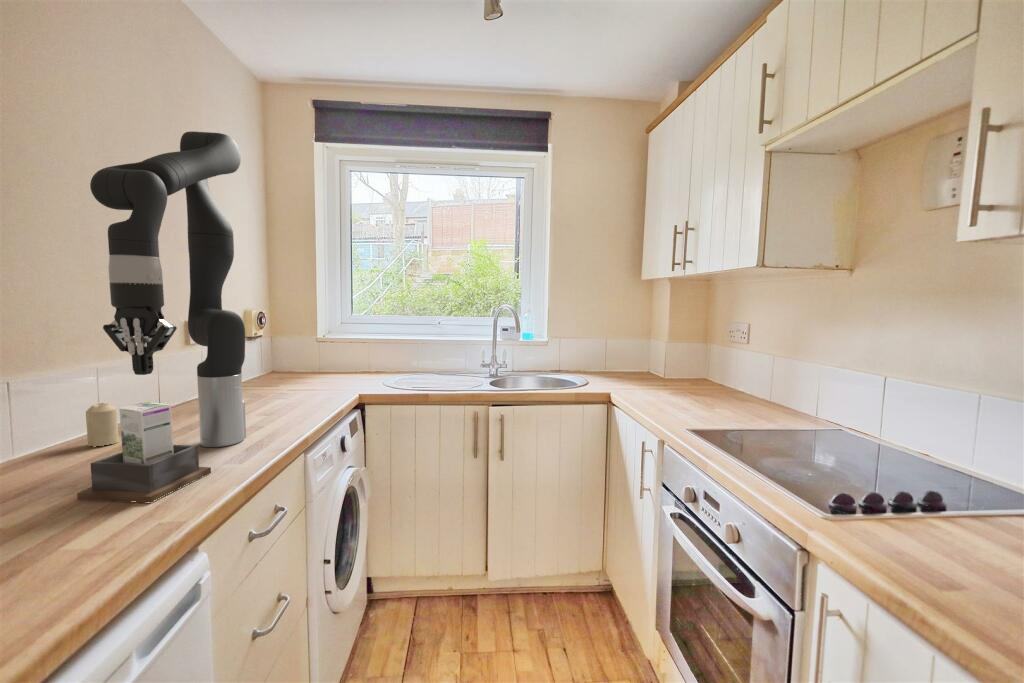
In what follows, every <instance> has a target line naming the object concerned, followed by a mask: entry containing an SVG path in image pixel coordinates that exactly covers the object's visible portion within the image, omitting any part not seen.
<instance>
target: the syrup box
mask: <svg viewBox="0 0 1024 683" xmlns="http://www.w3.org/2000/svg"><path fill="white" fill-rule="evenodd" d="M118 411H119V421H120V422H119V424H120V425H119V426H120V435H121V448H122V450H121V451H122V452H123V463H135V464H150V463H153V462H155V461H158V460H160V459H162V458H165V457H167V456H170V455H172V454H174V451H173V445H174V438H173V437H174V436H173V423H172V422H173V421H172V406H171V404H168V403H160V402H150V401H149V402H142V403H135V404H131V405H126V406H123V407H119V410H118Z"/></svg>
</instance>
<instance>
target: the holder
mask: <svg viewBox="0 0 1024 683" xmlns="http://www.w3.org/2000/svg"><path fill="white" fill-rule="evenodd" d="M173 451H174V454H172V455H170V456H167V457H165V458H162V459H160V460H158V461H155V462H153V463H150V464H135V463H123V452H117V453H116V454H113V455H109V456H107V457H104V458H101V459H98V460H96V461H93V462H90V478H91V487H88V488H85V489H83V490H81V491H78V492H77V493H76V498H77V499H76V500H81V501H99V502H101V501H102V502H116V501H126V502H125V503H132V502H131V501H136V502H153V501H154V500H156V499H158V498H160V497H162V496H164V495H166V494H168V493H170V492H172V491H174V490H176V489H178V488H180V487H182V486H184V485H186V484H188V483H190V482H192V481H194V480H196V479H198V478H200V477H202V476H204V477H206V476H207V474H208V475H210V474H211V473H212V470H211V468H212V467H210V466H200V463H199V462H200V461H199V445H191V444H190V445H189V444H188V445H187V444H173ZM209 473H210V474H209ZM205 475H206V476H205ZM202 478H203V477H202ZM200 479H201V478H200ZM198 480H199V479H198ZM196 481H197V480H196ZM194 482H195V481H194ZM192 483H193V482H192ZM190 484H191V483H190ZM188 485H189V484H188ZM186 486H187V485H186ZM184 487H185V486H184ZM182 488H183V487H182ZM180 489H181V488H180ZM178 490H179V489H178ZM176 491H177V490H176ZM174 492H175V491H174ZM172 493H173V492H172ZM153 503H154V502H153Z"/></svg>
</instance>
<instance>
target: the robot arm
mask: <svg viewBox="0 0 1024 683" xmlns="http://www.w3.org/2000/svg"><path fill="white" fill-rule="evenodd" d="M240 166H241V152H240V149H239V146H238V144H237V142H236V140H234V138H232V137H231V136H230V135H227V134H226V133H220V132H207V131H186V132H184V133H183V134H182V136H181V138H180V142H179V150H178V151H171V152H165V153H161V154H158V155H155V156H152V157H149V158H146V159H144V160H141V161H138V162H131V163H124V164H117V165H112V166H107V167H103V168H102V169H99V170H98V171H97V172H95V173H94V175H93V176H92V178H91V179H90V182H89V184H90V185H89V186H90V187H89V188H90V191H91V194H92V195H93V197H94V198H95V200H96V201H97V202H98V203H99V204H101V205H102V206H104V207H106V208H108V209H113V210H118V211H131V214H130V216H129V217H128V219H125V220H123V221H118V222H114V223H112V224H110V225H109V226H108V227H107V240H108V241H107V242H108V245H107V246H108V254H109V256H108V258H109V259H108V279H109V280H108V281H109V291H110V292H109V294H110V305H111V306H112V307H113V308H115V313H114V316H113V317H114V318H113V319H114V320H113V321H112V322H110V323H109V324H104V325H102V326H103V327H102V329H103V331H104V332H105V333H106V335H107V336H108V337H109V338H110V339H111V341H112V342H113V343H114V344H115V346H116V347H117V349H119V351H120V352H126V353H128V354H129V355H130V356H131V363H132V366H131V367H132V370H133V372H134V375H137V376H145V375H146V376H147V375H150V374H152V373H153V371H154V357H153V356H154V354H155V353H157V352H159V351H163V350H164V348H165V347H166V345H167V344H168V343H169V341H170V339H171V338H172V337H173V335H174V334H175V332H176V331H177V329H178V328H177V326H176V324H170V323H168V322H167V321H166V320H165V316H164V314H163V312H162V308H163V307H164V305H165V298H164V295H165V294H164V282H163V270H162V265H161V264H162V263H161V261H160V248H159V247H160V246H159V235H160V234H159V233H160V230H161V227H162V222H163V218H164V214H165V211H166V209H167V208H166V207H167V203H168V197H169V196H172V195H174V194H175V193H178V192H179V191H181V190H183V189H185V199H186V213H187V249H188V257H189V258H188V259H189V261H188V262H189V288H190V289H189V304H188V313H187V331H188V335H189V337H190V339H191V340H192V342H194V343H196V345H199V346H202V347H207V351H206V358H205V360H204V361H202V362H200V363H198V364H197V367H196V377H197V394H198V396H197V399H198V401H197V402H198V421H199V441H200V442H199V443H200V446H201V447H204V448H205V447H206V448H220V447H227V446H232V445H234V444H235V445H236V444H239V443H241V442H242V441H244V439H245V438H246V437H247V428H246V427H247V426H246V425H247V424H246V420H247V419H246V402H245V401H244V400H243V377H242V376H243V374H242V368H243V365H244V363H245V358H246V328H245V323H244V321H243V319H242V317H241V316H240V315H239V314H238V313H236V312H235V311H231V310H226V309H223V304H222V302H223V301H222V294H223V293H222V292H223V286H224V283H225V281H226V279H227V277H228V274H229V273H230V270H231V267H232V264H233V261H234V257H235V247H234V246H235V245H234V243H235V242H234V230H233V227H232V226H231V224H230V222H229V220H228V218H227V217H226V216H225V215H224V213H223V212H222V210H221V209H220V208H219V206H218V205H217V203H216V202H215V200H214V199H213V197H212V194H211V191H210V186H209V182H208V181H209V180H208V179H210V178H214V177H217V176H221V175H230V174H234V173H235V172H237V171H238V170H239V168H240Z"/></svg>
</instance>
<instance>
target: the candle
mask: <svg viewBox="0 0 1024 683" xmlns="http://www.w3.org/2000/svg"><path fill="white" fill-rule="evenodd" d="M117 409H118V408H117V407H116V406H114V405H111V404H110V403H109V404H108V403H104V402H100V403H95V404H93V405H91V406H90V407H89V408H87V410H86V411H85V420H86V422H85V423H86V435H87V445H88V447H89V446H103V447H105V446H104V445H109V444H113V445H115V444H114V443H116V442H119V426H118V410H117ZM116 444H117V443H116ZM109 446H110V445H109Z"/></svg>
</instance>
